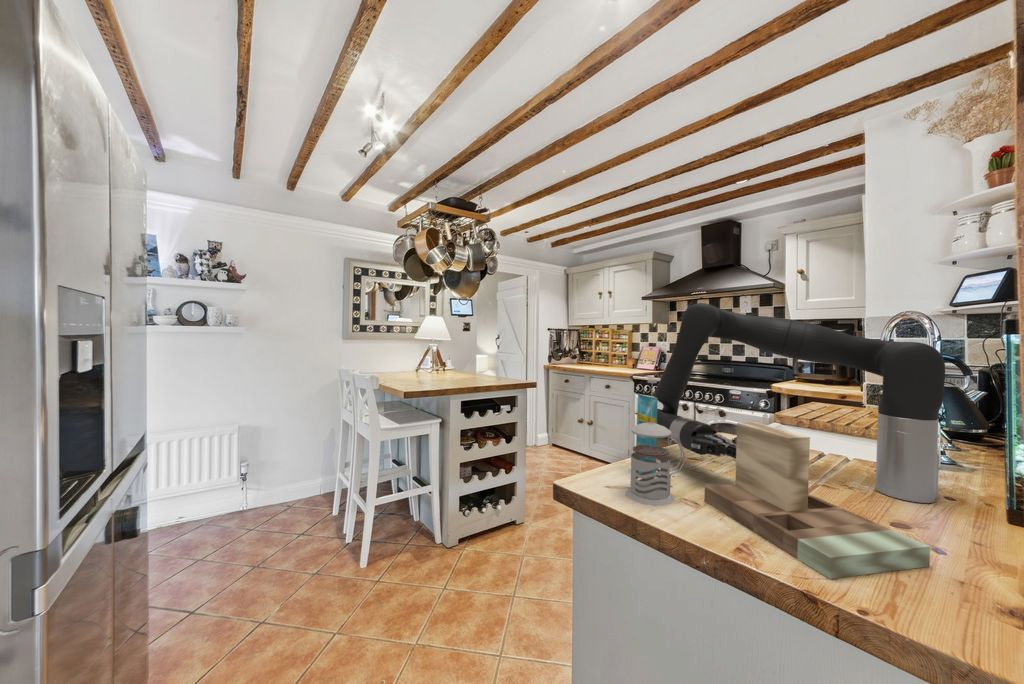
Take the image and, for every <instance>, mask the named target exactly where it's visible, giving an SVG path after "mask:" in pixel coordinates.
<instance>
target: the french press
mask: <svg viewBox="0 0 1024 684" xmlns="http://www.w3.org/2000/svg"><path fill="white" fill-rule="evenodd" d="M647 383H648V384H651V395H650V397H651V422H649V423H641V424H638V425H637V424H635V425H634V426H633V427H631V428H630V431H631V433H632V434H634V435H636V436H637V435H639V436H644V437H650V445H649V446H648V445H638V446H636V445H635V446H633V447H632V450H633V453H631V455H630V486H629V487H628V488H627V489H626V490H625V496H627V498H628V499H631V500H632V501H633V502H636V503H640V504H643V505H649V506H654V507H655V506H657V507H659V506H667V505H671V504H673V503H674V502H675V498H674V495H673V494H672V493H671V477H672V475H674V474H677V473H678V472H679V471H681V470H682V468H683V466H684V464H685V461H686V460H685V459H686V456H685V454H686V453H685V450H684V449H685V448H684V447H682V445H681V444H680V443H679V442H677V441H676V440H675V439H673V438H672V437H669V436H670V435H671V434H672V433H671V431H670V430H668V429H667V428H666V427H664V426H661V425H659V424H656V423H653V422H652V397H653V392H654V391H653V389H654V386H653V384H657V383H658V382H657V378H656V377H653V376H651V377H648V378H647ZM651 437H652V438H657V439H660V438H661V439H664V438H665V437H669V438H668V439H667V445H669V446H672V442H673V441H675V442H676V443H675V442H674V443H675V444H677V445H678V446H679V449H680V450H679V451H680V458H679V461H678V464H677V465H676V466H675V467H674V468H672V469H671V460H670V458H669V456H667V455H669V450H668V449H666V448H664V447H661V446H658V445H657V447H656V446H653V445H652V446H651ZM670 438H671V440H669V439H670ZM665 439H666V438H665ZM644 457H653V458H656V459H657V460H658V461H659V462H656V461H654V460H644V461H640V460H641V459H642V458H644ZM681 462H682V463H681ZM680 464H681V466H680ZM679 467H680V468H679ZM676 469H677V470H676ZM651 470H656V472H652V471H651ZM675 470H676V471H675ZM672 471H674V472H672ZM638 472H643V473H641V474H638ZM671 472H672V473H671ZM646 474H648V475H646ZM652 476H654V477H652ZM655 477H657V478H655Z"/></svg>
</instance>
